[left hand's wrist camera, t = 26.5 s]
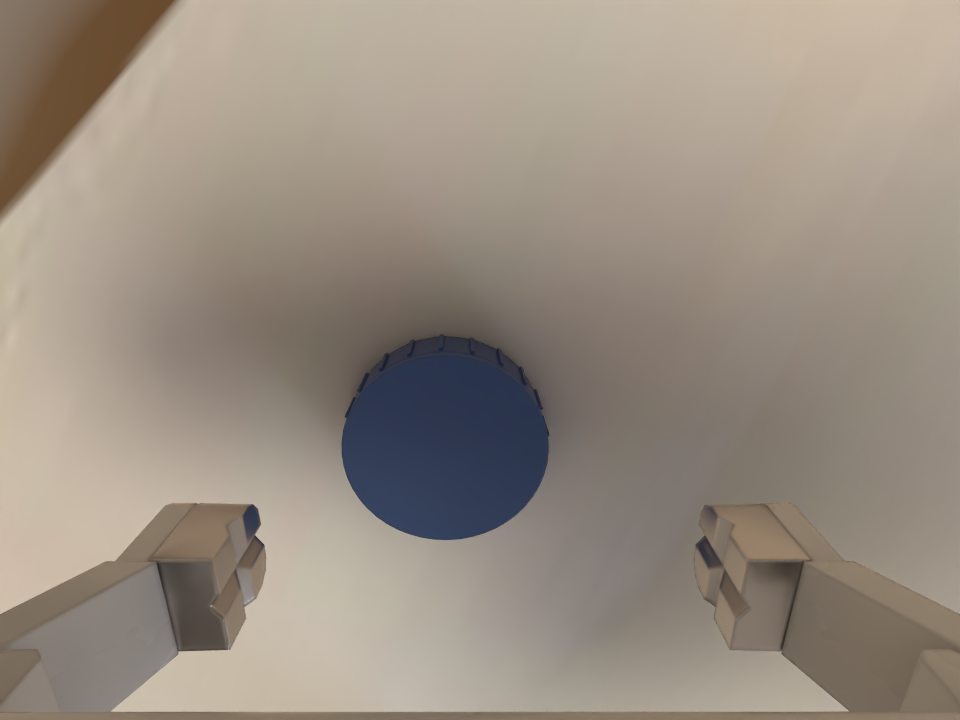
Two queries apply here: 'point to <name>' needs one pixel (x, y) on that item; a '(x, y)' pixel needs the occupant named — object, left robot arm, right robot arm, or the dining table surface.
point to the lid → (445, 439)
